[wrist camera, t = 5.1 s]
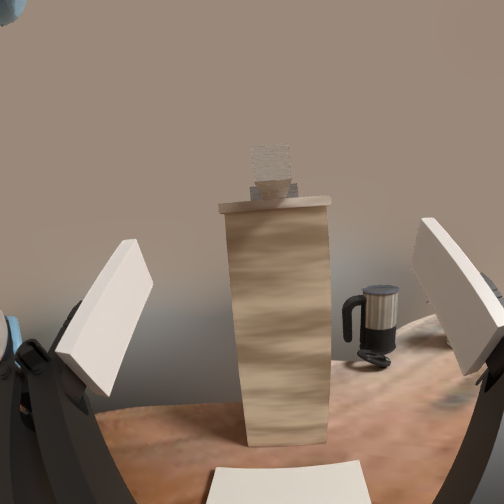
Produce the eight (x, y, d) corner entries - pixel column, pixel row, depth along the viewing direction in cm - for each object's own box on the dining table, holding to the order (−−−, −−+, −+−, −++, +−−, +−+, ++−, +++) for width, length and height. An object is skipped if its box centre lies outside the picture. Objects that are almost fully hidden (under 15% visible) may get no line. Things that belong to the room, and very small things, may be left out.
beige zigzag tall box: (251, 404, 45) (234, 210, 42) (320, 400, 43) (315, 204, 41) (244, 449, 33) (218, 203, 30) (330, 444, 32) (330, 195, 29)
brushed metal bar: (254, 208, 42) (253, 184, 41) (295, 205, 41) (293, 181, 41) (225, 184, 18) (222, 132, 18) (319, 177, 17) (313, 125, 17)
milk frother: (383, 337, 66) (385, 282, 65) (420, 358, 51) (426, 294, 50) (335, 349, 64) (335, 290, 63) (368, 377, 49) (372, 306, 47)
